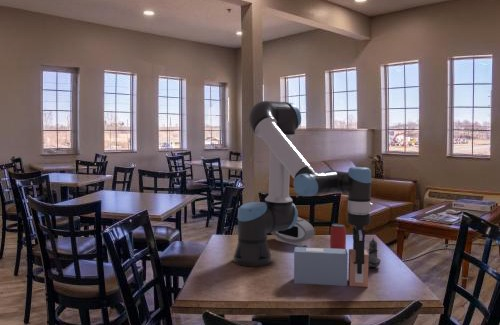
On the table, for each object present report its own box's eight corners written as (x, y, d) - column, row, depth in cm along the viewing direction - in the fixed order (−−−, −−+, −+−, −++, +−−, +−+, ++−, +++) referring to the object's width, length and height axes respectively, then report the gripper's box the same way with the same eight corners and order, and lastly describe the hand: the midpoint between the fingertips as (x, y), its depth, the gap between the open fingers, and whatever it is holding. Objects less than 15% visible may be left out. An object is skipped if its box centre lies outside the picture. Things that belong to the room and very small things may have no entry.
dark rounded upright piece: (364, 270, 159) (364, 239, 158) (365, 265, 164) (365, 235, 163) (380, 272, 157) (380, 240, 156) (381, 267, 162) (381, 237, 161)
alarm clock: (269, 239, 206) (269, 213, 205) (278, 236, 210) (278, 211, 209) (306, 248, 189) (306, 220, 188) (314, 246, 193) (315, 218, 192)
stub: (349, 285, 142) (350, 253, 142) (348, 279, 148) (348, 248, 148) (367, 286, 142) (368, 254, 141) (365, 280, 147) (366, 249, 147)
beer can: (336, 255, 179) (336, 227, 178) (327, 250, 185) (327, 224, 184) (348, 253, 181) (349, 225, 181) (339, 249, 187) (340, 222, 187)
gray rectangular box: (293, 283, 145) (294, 251, 145) (294, 277, 151) (295, 246, 150) (347, 286, 143) (347, 253, 142) (345, 280, 149) (346, 248, 148)
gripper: (374, 218, 133) (372, 289, 135) (367, 207, 152) (365, 270, 154) (350, 218, 134) (348, 288, 136) (345, 207, 153) (345, 269, 155)
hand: (357, 278), depth 145 cm, fingers closed on stub, 6 cm apart
